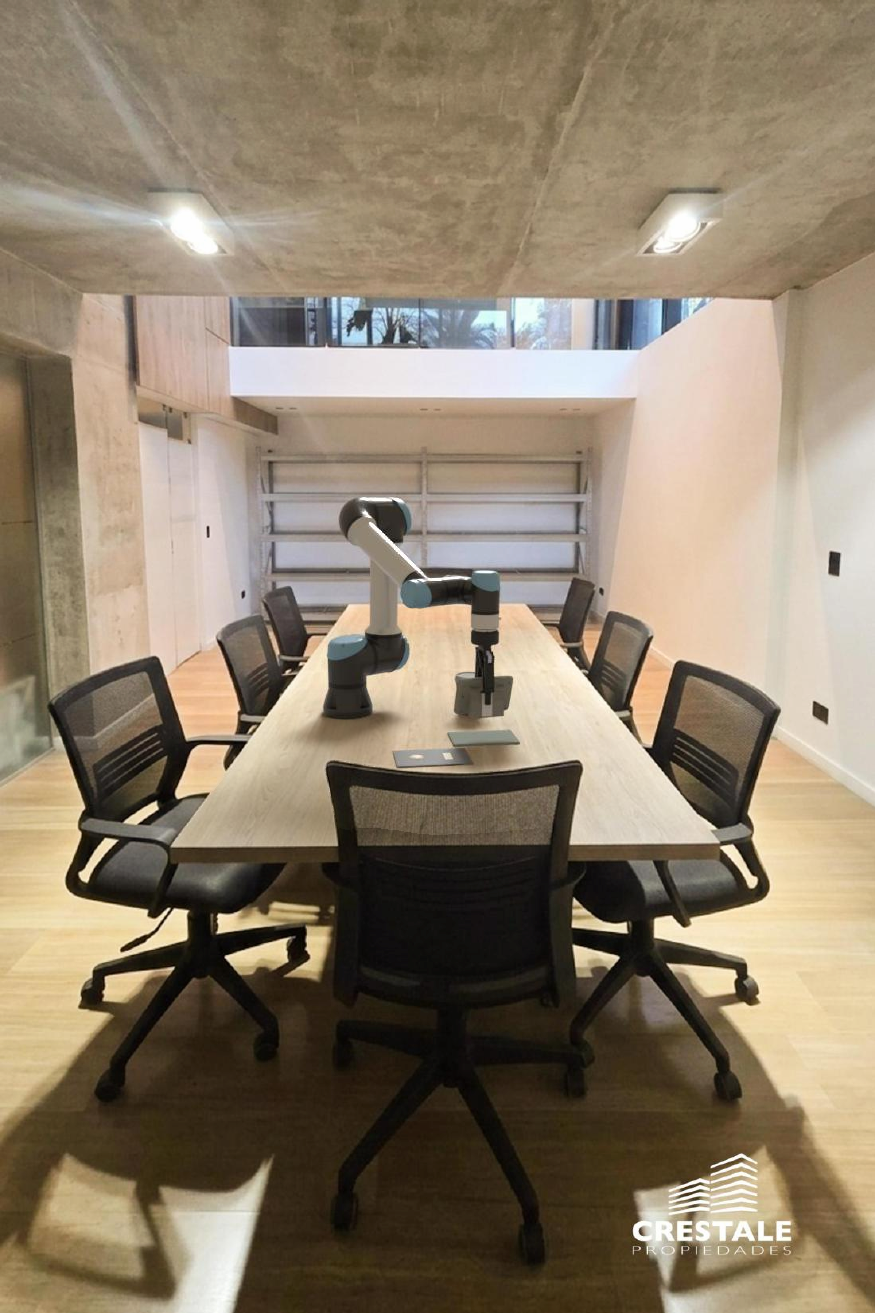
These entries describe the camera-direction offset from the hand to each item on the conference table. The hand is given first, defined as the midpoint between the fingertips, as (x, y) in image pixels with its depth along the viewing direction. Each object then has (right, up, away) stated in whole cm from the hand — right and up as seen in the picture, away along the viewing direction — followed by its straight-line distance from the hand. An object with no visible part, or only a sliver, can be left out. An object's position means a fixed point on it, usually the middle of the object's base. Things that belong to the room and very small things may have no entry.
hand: (483, 711), depth 209 cm
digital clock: (0, -1, +1) cm, 1 cm away
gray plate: (-14, -11, -14) cm, 23 cm away
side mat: (0, -8, +2) cm, 8 cm away
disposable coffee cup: (-3, -2, +27) cm, 27 cm away
